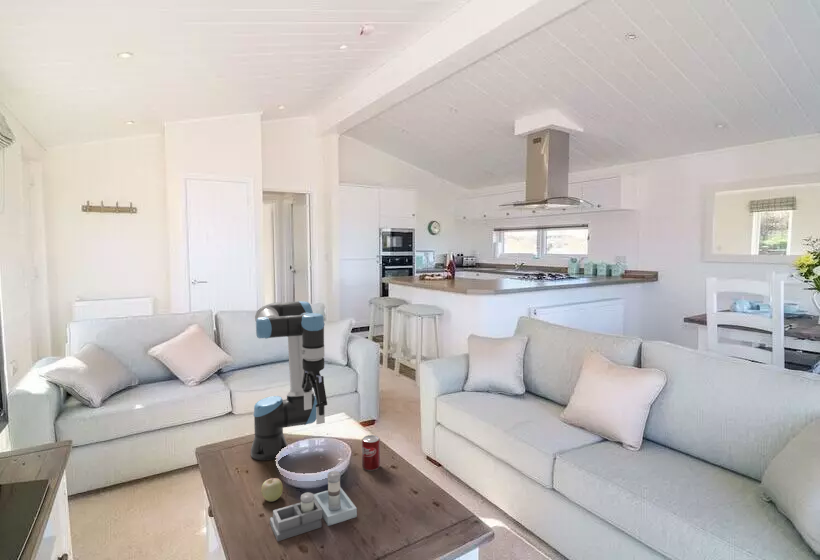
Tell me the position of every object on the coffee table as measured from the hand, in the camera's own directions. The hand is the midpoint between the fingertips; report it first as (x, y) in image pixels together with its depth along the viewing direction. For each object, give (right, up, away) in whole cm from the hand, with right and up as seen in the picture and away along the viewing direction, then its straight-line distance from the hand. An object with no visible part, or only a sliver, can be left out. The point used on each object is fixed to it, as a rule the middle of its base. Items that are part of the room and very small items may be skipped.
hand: (314, 416), depth 161 cm
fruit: (-15, -30, 0) cm, 33 cm away
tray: (+8, -30, -6) cm, 32 cm away
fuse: (+8, -29, -6) cm, 31 cm away
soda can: (+18, -28, +22) cm, 40 cm away
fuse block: (-3, -31, -15) cm, 34 cm away
